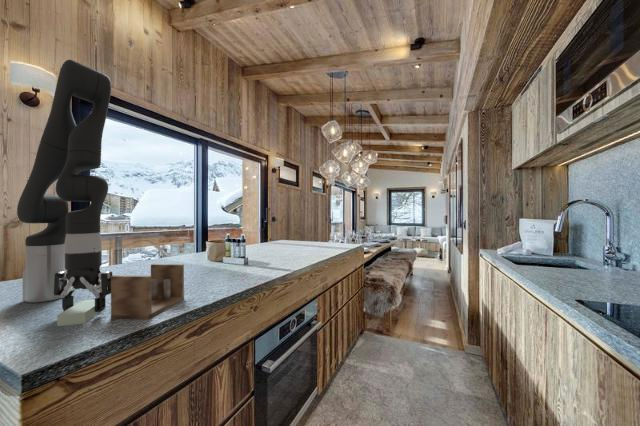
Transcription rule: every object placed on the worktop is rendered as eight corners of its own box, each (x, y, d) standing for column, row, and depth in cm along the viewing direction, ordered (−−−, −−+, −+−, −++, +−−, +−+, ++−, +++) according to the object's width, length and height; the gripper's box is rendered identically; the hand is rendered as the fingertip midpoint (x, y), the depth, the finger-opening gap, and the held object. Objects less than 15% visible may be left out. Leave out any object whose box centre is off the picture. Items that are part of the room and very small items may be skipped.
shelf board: (57, 327, 68) (57, 315, 68) (82, 311, 80) (82, 300, 80) (84, 324, 70) (84, 312, 70) (105, 309, 81) (105, 298, 81)
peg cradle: (111, 318, 73) (110, 276, 73) (153, 298, 90) (153, 264, 90) (148, 319, 72) (148, 276, 72) (183, 298, 89) (183, 264, 89)
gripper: (43, 252, 71) (43, 316, 71) (97, 252, 71) (98, 316, 71) (70, 248, 79) (71, 306, 79) (120, 248, 78) (120, 306, 78)
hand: (84, 311), depth 75 cm, fingers open, 8 cm apart
